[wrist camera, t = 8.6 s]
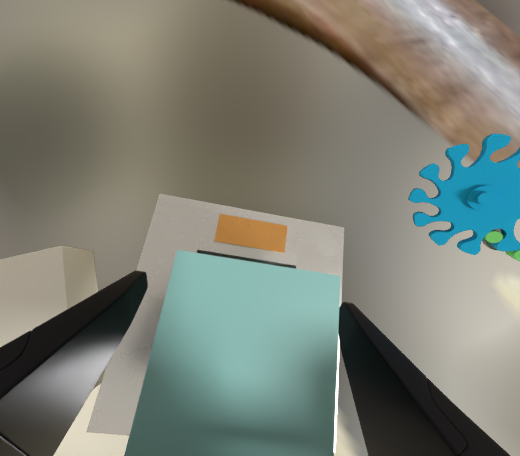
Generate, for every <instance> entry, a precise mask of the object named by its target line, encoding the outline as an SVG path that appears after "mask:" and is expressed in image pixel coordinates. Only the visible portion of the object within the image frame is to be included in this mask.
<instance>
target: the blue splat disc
mask: <svg viewBox="0 0 520 456" xmlns="http://www.w3.org/2000/svg"><path fill="white" fill-rule="evenodd" d="M510 140H511V137H510V136H507V135H503V134H491V135H489V136H487V137H486V138H485V139H484V140H483V142H482V151H481V154H480V155H479V157H478V158H477V160H476V161H475V162H474V163H473V164H472V165H471V166H469V167H467V168H466V167H463V166H462V165H461V160H462V158H463V157H464V156H465V155H466V154H467V153H468V151H469V146H468V144H461V145H457V146H453V147H451V148H448V149H447V150H446V152H445V154H446V157H448V158H449V160H450V162H451V165H452V170H451V175H450V178H448V179H447V180H445V181H442V180H440V179H439V178H438V174H439V167H438V165H436V164H431V165H428V166H426V167H425V168H423V169H422V170H421V171H420V172H419V175H420V176H421V177H423V178H426V179H428V180H430V181H432V182H433V183H434V184H435V185H436V187H437V189H438V191H439V193H438V195H437V196H436V197H434V198H428V197H427V195H426V193H425V192H424V191H423V190H422V189H418V188H416V189H414V190H413V191H412V192H411V193H410V196H409V200H410V201H412V202H414V203H418V202H427V203H431V204H433V205H435V206H437V207H438V208H439V212H438V214H437V215H435V216H429V215H427V214H425V213H423V212H416V213H414V214H413V220H414V224H415V225H416V226H425V225H426V224H428V223H431V222H434V221H448V222H451V228H450V229H448V230H445V231H443V230H442V231H441V230H434V231H431V232H430V233H429V236H430V237H431V239H432V240H433V241H434V242H435V243H437V244H438V245H444V244H445V243H446V242H447V241H448V239H450V237H452V236H453V235H455V234H457V233H459V232H462V231H466V230H473V233H474V234H473V236H472V237H470V238H468V239H465V240H462V241H460V242H458V244H457V247H458V248H459V249H460V250H462V251H464V252H466V253H469V254H473V255H476V254H478V252H479V251H480V244H481V241H483V243H484V244H485V245H486V246H488V247H489V248H491V249H493V250H499V251H505V252H506V254H507V255H509V256H511V257H513V258H514V259H516V260H518V261H520V243H519V242H518V241H517V240H516V238H515V236H514V231H513V229H514V226H515V222H516V221H517V220H518V219H519V218H520V169H519V168H518V166H517V163H518V161H519V160H520V148H519V149H518V150H517V151H516V152H515V153H514V154H513V155H512V156H510V157H508V158H507V159H504V160H502V161H500V162H497V163H494V162H492V161H491V160H490V155H491V154H492V153H493V152H494V151H496V150H498V149H501V148H503V147H505V146H506V145H507V144H508V143H509V142H510Z"/></svg>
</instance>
